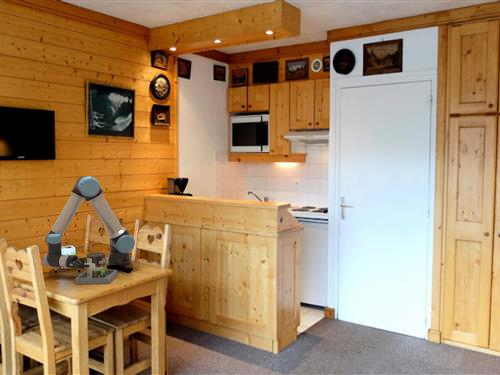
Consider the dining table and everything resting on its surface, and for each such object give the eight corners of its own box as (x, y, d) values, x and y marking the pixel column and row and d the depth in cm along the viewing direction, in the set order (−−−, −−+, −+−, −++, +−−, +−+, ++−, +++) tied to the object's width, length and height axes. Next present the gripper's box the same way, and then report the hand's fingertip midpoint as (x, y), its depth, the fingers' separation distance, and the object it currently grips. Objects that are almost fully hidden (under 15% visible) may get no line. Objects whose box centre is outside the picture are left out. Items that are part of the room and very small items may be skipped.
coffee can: (109, 276, 268) (108, 253, 267) (99, 281, 258) (99, 256, 257) (93, 275, 271) (92, 252, 269) (83, 280, 260) (82, 256, 259)
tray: (86, 275, 274) (86, 270, 274) (117, 275, 274) (117, 269, 274) (75, 284, 256) (75, 278, 255) (108, 284, 256) (108, 278, 256)
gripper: (82, 262, 281) (113, 264, 276) (55, 273, 257) (89, 275, 252) (81, 250, 280) (112, 252, 275) (55, 259, 256) (88, 262, 251)
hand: (101, 263), depth 263 cm, fingers open, 13 cm apart
